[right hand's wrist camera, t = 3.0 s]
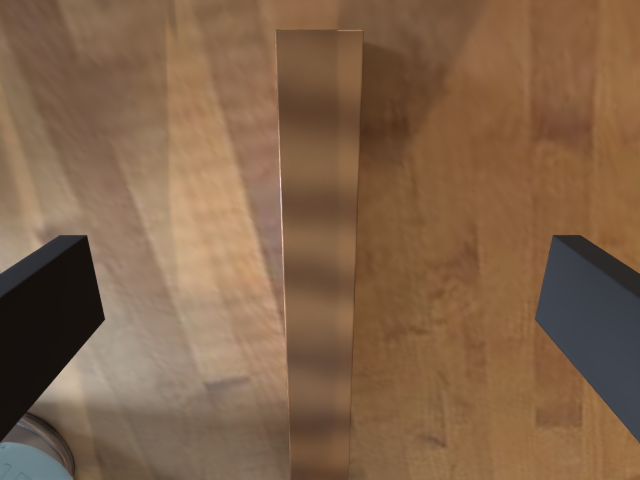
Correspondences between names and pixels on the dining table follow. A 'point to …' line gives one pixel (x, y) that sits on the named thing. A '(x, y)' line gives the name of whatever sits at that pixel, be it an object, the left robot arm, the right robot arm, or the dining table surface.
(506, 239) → the dining table surface
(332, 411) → the bar
